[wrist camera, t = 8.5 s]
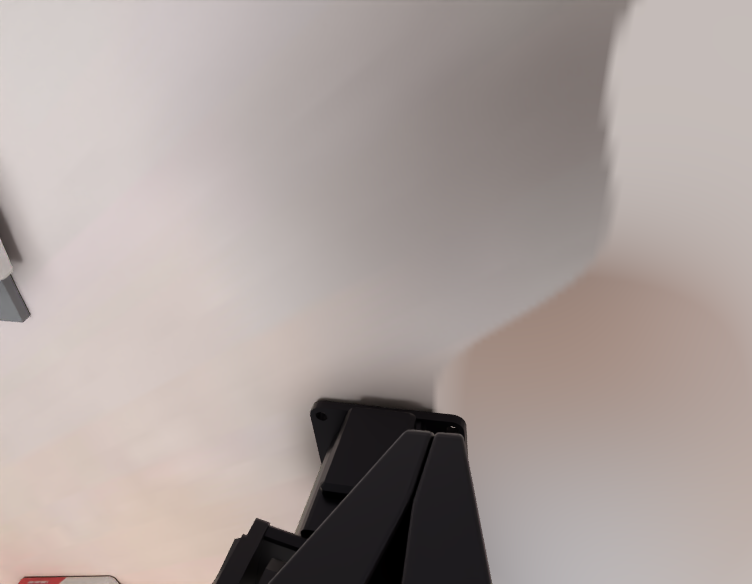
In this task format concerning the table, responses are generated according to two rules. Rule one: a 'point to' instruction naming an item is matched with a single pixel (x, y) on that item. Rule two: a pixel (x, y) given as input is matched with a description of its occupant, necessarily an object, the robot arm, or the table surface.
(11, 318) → the mat
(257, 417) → the table surface
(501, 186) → the table surface
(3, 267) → the syrup box
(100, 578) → the ink box
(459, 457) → the robot arm
